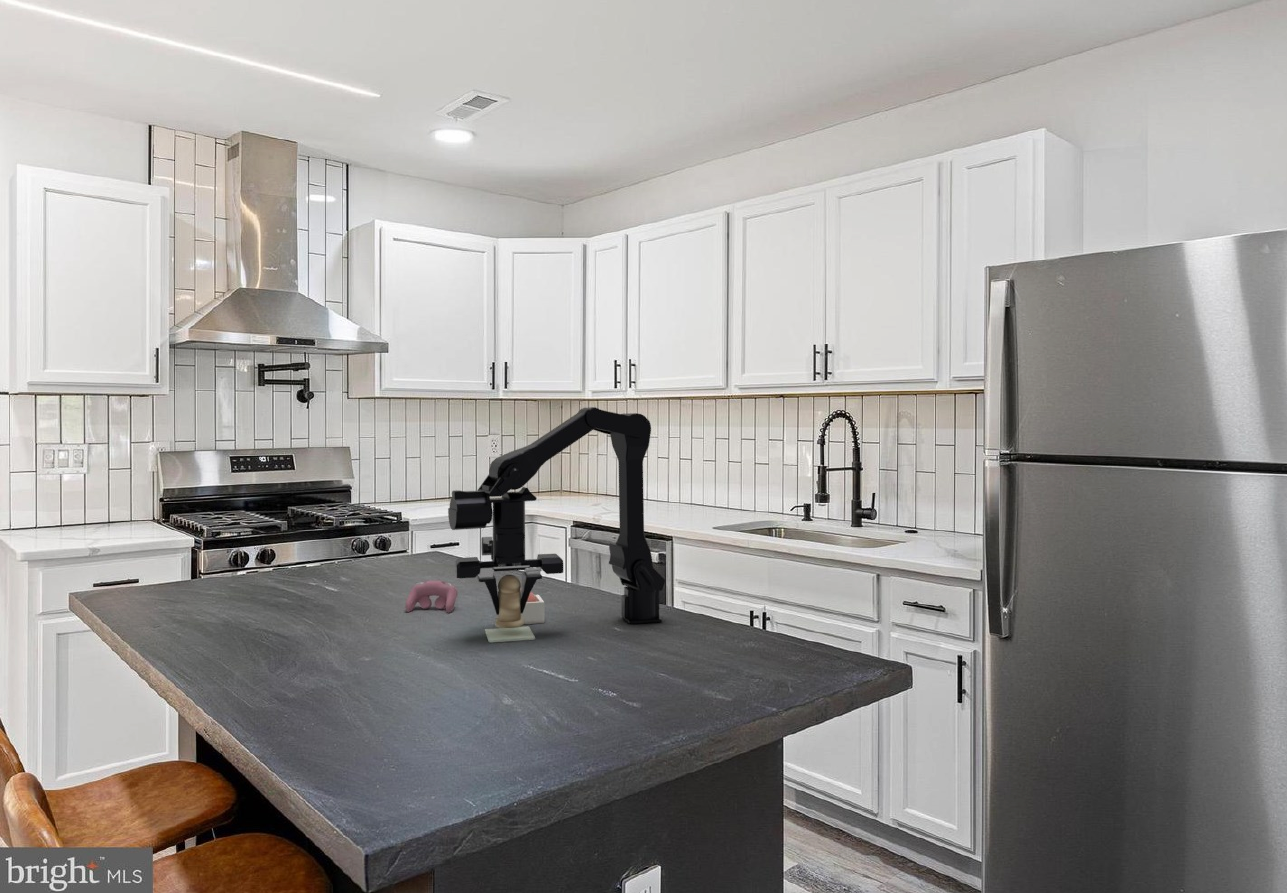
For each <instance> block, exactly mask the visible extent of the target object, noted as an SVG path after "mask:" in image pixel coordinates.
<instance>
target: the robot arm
mask: <svg viewBox="0 0 1287 893" xmlns="http://www.w3.org/2000/svg"><path fill="white" fill-rule="evenodd" d="M592 431H595V432H598V433H602V434H606V435H610V441H611V446H612V449H613V450H614V453H615V455H616V458H617V461H618V505H619V506H618V508H619V510H618V511H619V513H618V514H619V515H618V516H619V518H618V519H619V534H618V537H617V540H616V542H615V543H611V542H610V543H608V544H609V545H608V549H609V553H610V556H609V561H608V565H611V567H612V571H613V572H612V573H614V574H615V575H616V576H617V577H618V578H619V580H620V584H621V585H622V586H624V587H623V594H622V595H621V596H620V597H621V600H620V601H621V604H620V605H621V608H620V609H621V617H622V619H624V620H625V621H626V622H627V623H628V624H642V623H643V624H644V623H645V624H646V623H658V622H659V623H660V622H663V618H662V617H661V616H660V591H663V589H664V586H665V584H666V578H664V577H663V576H662V575H661V574H660V573H659V572H658V571H657V570H656V569H655V568H654V562H653V556H652V552H651V551H652V550H651V548H650V545H649V544H648V541H647V538H646V535H645V517H644V515H645V514H644V512H645V510H644V508H645V507H644V506H645V505H644V458H645V456H646V454H647V451H648V448H649V446H650V440H651V433H652V425H651V422H650V420H649V419H648V418H647V417H646V416H645V415H644V414H642V413H636V412H633V413H628V412H627V413H617V412H612V411H607V410H603V409H599V408H598V407H595V406H594V407H583V408H581V409H580V410H578V412H576V413H575V414H574V415H572V416H571V417H569V418H568V419H566V420H565V421H563V422H561V423H560V424H559V425H558V426H556V427H555V428H553V429H552V430H550V431H547V433H545V434H544V435H542V436H541V437H539V438H538V439H536V440H535V441H533V442H531V443H530V444H528V445H526V446H523V447H521V448H517V449H515V450H512V451H509V452H507V453H505V454H502V455H501V456H497V457H496V458H494V459H493V460H492V461H491V463H490V464H489V469H488V475H487V476H486V477H485V479H484V480H483V482H482V483H481V485H480V486H479V487H478V489H477V490H464V491H463V490H457V489H455V490H452V491H451V498H450V501H449V508H448V509H447V510H448V511H447V514H448V523H449V528H450V529H451V530H452V531H457V530H458V531H459V530H460V531H461V530H473V529H474V530H475V529H476V530H477V529H485V528H486V527H487V524H491V521H492V536H482V537H481V540H480V541H481V556H490V560H489V561H488V560H487V561H486V560H485V561H480V560H479V557H476V556H471V557H468V556H467V557H457V559H456V560H455V561H454V574H455V576H456V579H474V578H477V581H478V582H479V583H484V584H485V586H486V588H487V590H488V593H489V596H490V599H491V601H492V604H493V607H494V612H495V615H497V616H498V615H499V601H498V583H497V579H496V576H495V575H494V574H495V572H508V571H509V572H510V571H511V572H512V571H521V587H520V590H521V613H523V611H524V608H525V605H526V603H527V600H528V597H529V595H530V592H532V591H533V587H534V586H535V584H536V582H537V580H542V579H543V575H542V573H541V572H542V571H543V572H544V573H545V574H546V575H549V574H550V575H551V574H553V575H555V574H563V573H564V560H563V558H561V557H560V556H559V555H558V554H557V553H538V554H537V556H536V558H533V559H532V558H531V559H526V502H533V501H537V499H538V498H537V496H535V495H534V494H533V493H532V492H531V491H530V489H529V487H525V485H526V484H528V483H529V481H530V480H531V479H533V477H534V476H535V475H536V474H537V473H538V472H539V470H540V469H541V467H543V465H544V464H545V463H547V461H549V460H551V459H552V458H554V457H555V456H557V455H558V454H559V453H561V452H563V451H564V450H566V449H567V448H568V447H570V446H571V445H573V444H574V443H576V442H577V441H579V440H580V439H581V438H583V437H584V436H586V435H587V434H589V433H591V432H592ZM519 489H520V490H519ZM510 490H514V491H510ZM515 490H519V491H515Z"/></svg>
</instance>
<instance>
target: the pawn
mask: <svg viewBox="0 0 1287 893" xmlns="http://www.w3.org/2000/svg"><path fill="white" fill-rule="evenodd" d="M521 585H522V583H521V582H520V580H519V577H517V576H516V575H514V574H506V575H503V576H502V577H501V578H500V579H499V580H498V582H497V593H498V601H499V615H497V618H495V627H496V628H517V627H524V625H525V624H524V618H522V617H521V591H520V590H521Z"/></svg>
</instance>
